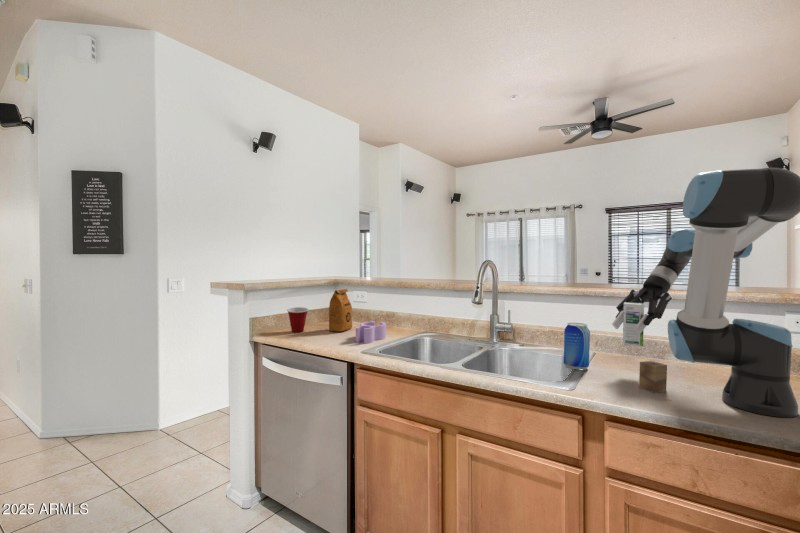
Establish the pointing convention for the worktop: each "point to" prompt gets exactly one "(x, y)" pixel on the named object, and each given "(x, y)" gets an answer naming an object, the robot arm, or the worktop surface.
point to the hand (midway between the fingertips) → (625, 328)
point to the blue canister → (576, 346)
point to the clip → (370, 332)
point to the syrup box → (632, 323)
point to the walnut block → (653, 376)
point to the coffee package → (340, 312)
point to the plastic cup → (297, 318)
